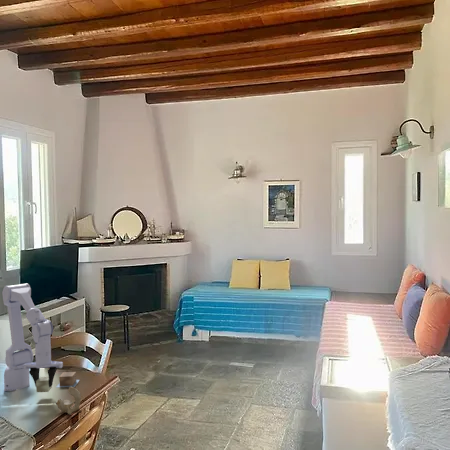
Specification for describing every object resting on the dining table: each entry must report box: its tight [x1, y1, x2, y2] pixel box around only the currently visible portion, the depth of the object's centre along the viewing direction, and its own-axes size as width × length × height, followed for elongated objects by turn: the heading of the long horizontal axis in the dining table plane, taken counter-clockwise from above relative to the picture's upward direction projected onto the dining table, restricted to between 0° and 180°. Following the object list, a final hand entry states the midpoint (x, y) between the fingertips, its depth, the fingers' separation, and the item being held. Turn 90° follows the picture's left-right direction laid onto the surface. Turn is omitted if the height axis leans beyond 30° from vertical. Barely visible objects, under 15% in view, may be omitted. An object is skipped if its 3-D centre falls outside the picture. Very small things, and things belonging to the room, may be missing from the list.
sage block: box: [35, 376, 53, 393], centre depth 180 cm, size 4×4×4 cm
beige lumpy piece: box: [56, 387, 82, 416], centre depth 168 cm, size 9×6×10 cm
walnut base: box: [58, 371, 77, 386], centre depth 195 cm, size 6×6×4 cm
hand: (44, 386), depth 180 cm, fingers closed on sage block, 4 cm apart
